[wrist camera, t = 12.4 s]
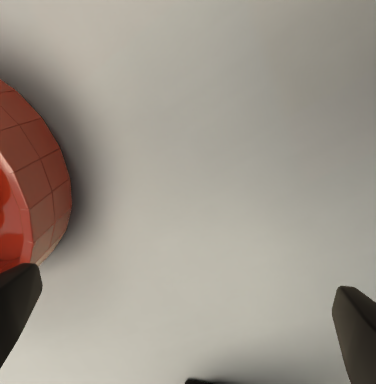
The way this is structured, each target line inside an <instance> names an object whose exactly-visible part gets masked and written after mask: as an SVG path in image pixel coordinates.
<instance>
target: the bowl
mask: <svg viewBox="0 0 376 384" xmlns="http://www.w3.org/2000/svg"><path fill="white" fill-rule="evenodd" d="M71 209H72V196H71V180H70V176H69V173H68V170H67V167H66V164H65V161H64V158H63V155H62V152H61V149H60V146H59V145H58V143H57V142H56V140H55V138H54V137H53V135H52V133H51V132H50V130H49V128H48V127H47V125H46V123H45V122H44V120H43V119H42V117H41V116H40V115H39V114H38V113H37V112H36V111H35V110H34V109H33V107H32V106H31V105H30V104H29V103H28V102H27V101H26V100H25V99H24V98H23V97H22V96H21V95H20V94H19V93H18V92H17V91H16V90H15V89H13V88H12V87H11V86H9V85H8V84H6V83H5V82H3V81H2V80H0V273H2V272H4V271H6V270H9V269H11V268H13V267H15V266H17V265H19V264H21V263H35V264H37V265H38V267H39V266H40V264H41V263H42V262H43V261H44V260H45V259H46V258H47V257H48V256H49V254H50V253H51V252H52V251H53V250H54V249H55V247H56V246H57V244H58V243H59V241H60V240H61V238H62V236H63V235H64V233H65V232H66V230H67V226H68V221H69V217H70V213H71Z"/></svg>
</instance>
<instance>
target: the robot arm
mask: <svg viewBox="0 0 376 384" xmlns="http://www.w3.org/2000/svg"><path fill="white" fill-rule="evenodd" d="M41 292H42V280H41V276H40V271H39V267H38V265H37V264H35V263H21V264H19V265H17V266H15V267H13V268H11V269H9V270H6V271H4V272H2V273H0V368H1V367H2V365H3V363H4V362H5V360H6V358H7V357H8V355H9V354H10V352H11V350H12V349H13V347H14V345H15V344H16V342H17V340H18V338H19V337H20V335H21V333H22V331H23V329H24V327H25V325H26V323H27V321H28V319H29V317H30V315H31V313H32V310H33V308H34V306H35V304H36V302H37V300H38V298H39V296H40V294H41ZM332 316H333V321H334V325H335V328H336V332H337V336H338V340H339V344H340V348H341V352H342V356H343V360H344V364H345V367H346V371H347V374H348V377H349V380H350V382H351V384H376V302H374V301H373V300H371V299H370V298H369V297H367V296H366V295H365V294H363V293H362V292H361V291H359V290H358V289H356V288H355V287H349V286H340V287H338V289H337V291H336V295H335V299H334V303H333V307H332ZM185 384H211V383H205V382H199V381H193V380H187V381H186V382H185Z"/></svg>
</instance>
